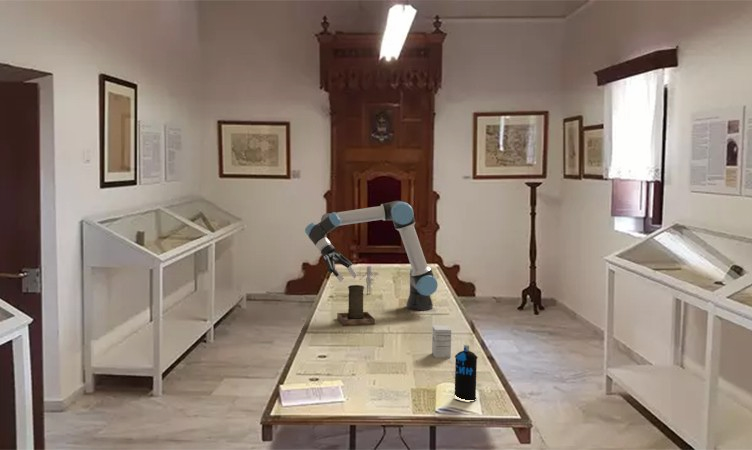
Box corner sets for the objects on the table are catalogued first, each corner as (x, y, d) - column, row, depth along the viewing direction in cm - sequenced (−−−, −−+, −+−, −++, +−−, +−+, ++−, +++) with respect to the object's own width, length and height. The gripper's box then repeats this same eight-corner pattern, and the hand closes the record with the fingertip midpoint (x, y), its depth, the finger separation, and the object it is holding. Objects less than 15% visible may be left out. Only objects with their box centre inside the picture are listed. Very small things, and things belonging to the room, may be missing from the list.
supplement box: (431, 353, 324) (432, 325, 323) (447, 353, 325) (448, 325, 324) (434, 358, 317) (434, 329, 316) (450, 357, 318) (451, 329, 316)
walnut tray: (367, 317, 392) (367, 311, 392) (374, 324, 376) (374, 318, 376) (337, 318, 388) (337, 313, 388) (343, 325, 372) (343, 320, 372)
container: (362, 322, 377) (362, 288, 375) (345, 321, 378) (345, 287, 376) (365, 318, 385) (366, 285, 384) (349, 317, 387) (349, 284, 385)
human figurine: (377, 293, 456) (378, 265, 454) (378, 295, 452) (379, 266, 450) (358, 294, 454) (359, 265, 452) (359, 295, 451) (359, 266, 449)
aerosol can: (460, 393, 271) (461, 341, 269) (480, 397, 267) (481, 344, 265) (449, 399, 265) (451, 346, 262) (469, 404, 260) (471, 349, 258)
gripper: (334, 249, 400) (357, 279, 394) (308, 255, 378) (331, 286, 372) (342, 241, 397) (365, 270, 391) (316, 245, 375) (340, 277, 369)
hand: (349, 278), depth 381 cm, fingers open, 13 cm apart
